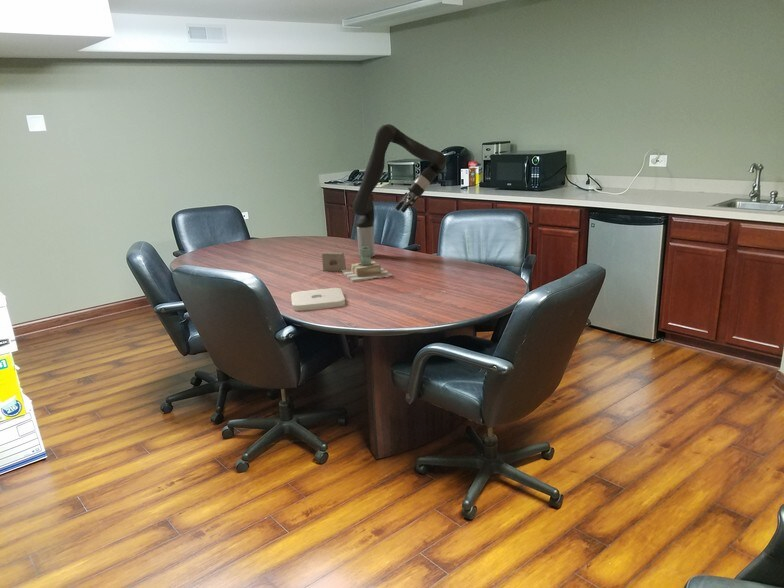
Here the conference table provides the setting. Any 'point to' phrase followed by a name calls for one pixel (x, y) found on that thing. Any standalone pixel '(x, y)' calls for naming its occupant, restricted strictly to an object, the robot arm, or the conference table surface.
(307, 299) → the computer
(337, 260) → the fossil
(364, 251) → the post
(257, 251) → the conference table surface
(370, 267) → the stand
